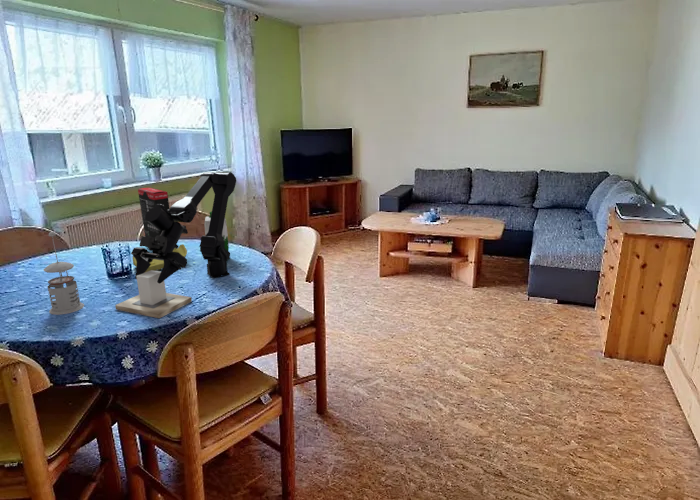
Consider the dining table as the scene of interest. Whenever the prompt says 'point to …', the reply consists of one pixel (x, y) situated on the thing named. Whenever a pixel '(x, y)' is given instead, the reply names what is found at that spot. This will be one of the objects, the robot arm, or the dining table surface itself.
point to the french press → (62, 288)
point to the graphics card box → (147, 202)
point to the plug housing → (150, 288)
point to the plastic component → (160, 263)
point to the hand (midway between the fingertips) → (147, 281)
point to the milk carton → (224, 232)
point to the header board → (157, 309)
